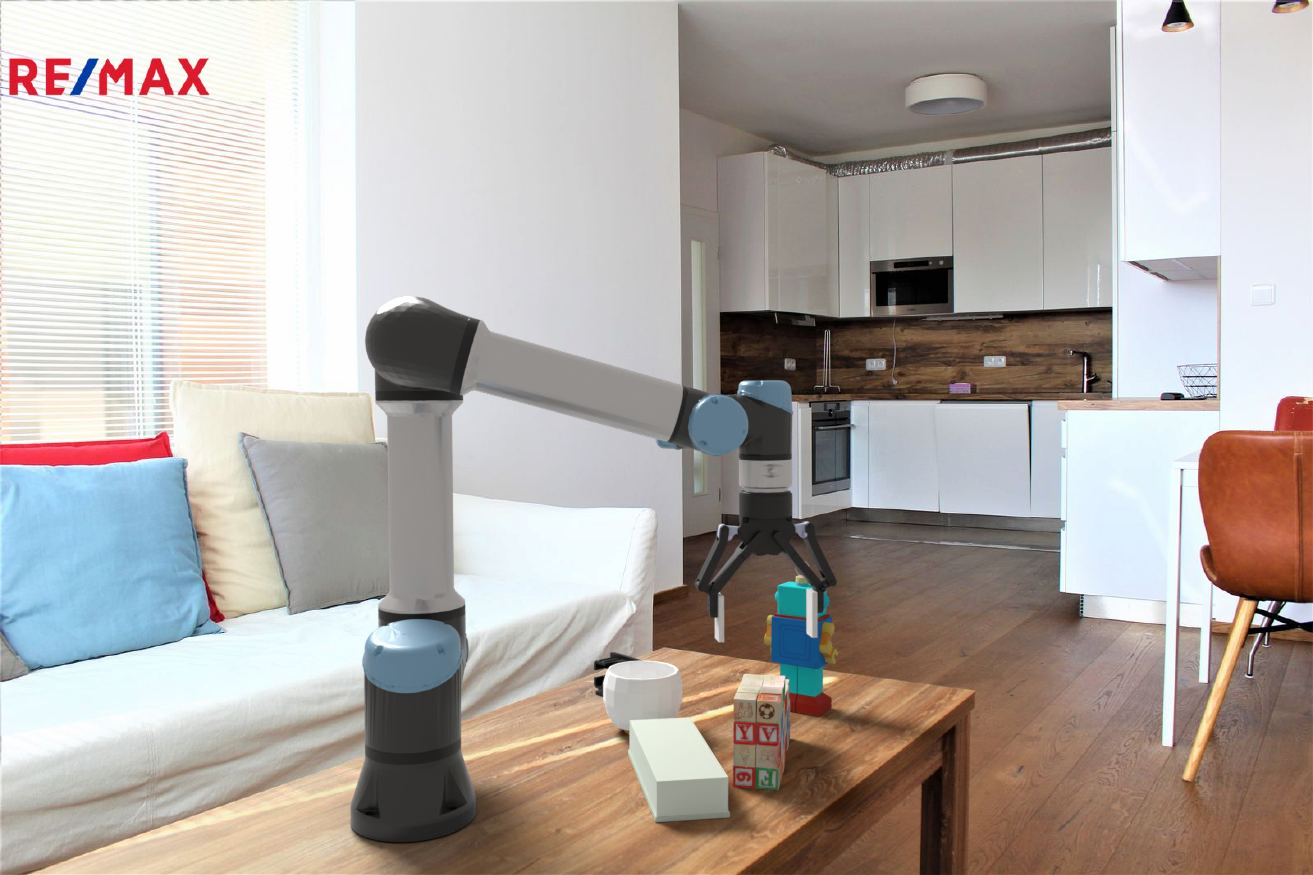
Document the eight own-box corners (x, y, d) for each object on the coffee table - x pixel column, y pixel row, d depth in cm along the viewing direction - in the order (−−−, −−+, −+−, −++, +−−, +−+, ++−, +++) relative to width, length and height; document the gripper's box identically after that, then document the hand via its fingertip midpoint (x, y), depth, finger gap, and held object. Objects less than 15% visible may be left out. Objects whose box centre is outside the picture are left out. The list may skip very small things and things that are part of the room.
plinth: (655, 822, 127) (655, 782, 126) (627, 753, 151) (627, 719, 150) (729, 817, 128) (730, 777, 128) (690, 750, 152) (691, 716, 152)
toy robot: (841, 710, 172) (842, 560, 171) (826, 719, 167) (828, 566, 166) (778, 698, 178) (779, 554, 177) (762, 707, 173) (763, 559, 172)
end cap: (660, 698, 178) (660, 660, 178) (629, 707, 174) (629, 667, 173) (623, 686, 186) (623, 649, 185) (592, 693, 181) (592, 655, 181)
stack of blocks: (749, 736, 159) (750, 657, 159) (790, 738, 158) (791, 659, 157) (732, 788, 138) (732, 697, 138) (779, 791, 137) (780, 700, 136)
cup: (662, 714, 169) (663, 656, 169) (695, 738, 158) (695, 675, 157) (592, 724, 164) (592, 664, 164) (620, 748, 153) (620, 684, 152)
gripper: (684, 493, 140) (685, 648, 141) (859, 489, 144) (858, 639, 145) (674, 488, 148) (675, 635, 149) (840, 485, 152) (840, 627, 153)
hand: (766, 638), depth 147 cm, fingers open, 13 cm apart
